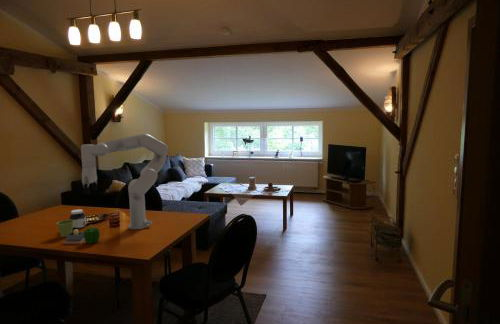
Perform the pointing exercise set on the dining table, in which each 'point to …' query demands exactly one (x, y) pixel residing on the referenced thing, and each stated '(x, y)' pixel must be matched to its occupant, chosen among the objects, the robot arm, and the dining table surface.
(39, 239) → the dining table surface
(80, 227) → the spread jar
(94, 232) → the bell pepper
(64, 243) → the keeper
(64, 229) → the plant pot
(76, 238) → the dark grey rectangular frame
